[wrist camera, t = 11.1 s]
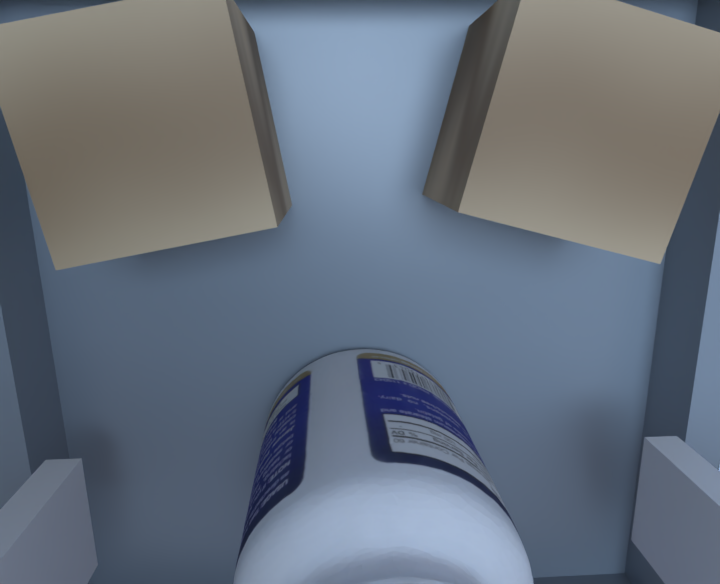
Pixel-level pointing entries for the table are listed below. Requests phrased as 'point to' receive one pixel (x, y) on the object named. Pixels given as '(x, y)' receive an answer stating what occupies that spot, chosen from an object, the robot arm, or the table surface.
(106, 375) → the tray
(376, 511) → the pill bottle
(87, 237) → the oak cube
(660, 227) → the oak cube
